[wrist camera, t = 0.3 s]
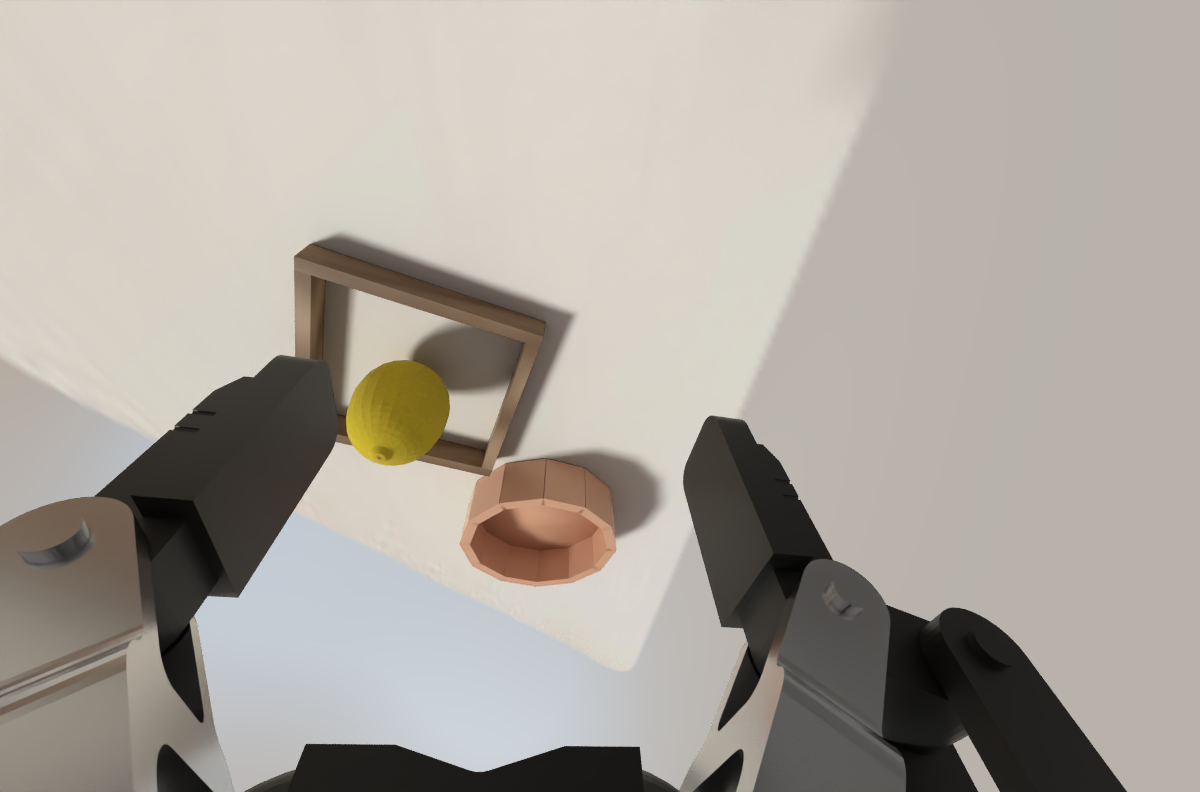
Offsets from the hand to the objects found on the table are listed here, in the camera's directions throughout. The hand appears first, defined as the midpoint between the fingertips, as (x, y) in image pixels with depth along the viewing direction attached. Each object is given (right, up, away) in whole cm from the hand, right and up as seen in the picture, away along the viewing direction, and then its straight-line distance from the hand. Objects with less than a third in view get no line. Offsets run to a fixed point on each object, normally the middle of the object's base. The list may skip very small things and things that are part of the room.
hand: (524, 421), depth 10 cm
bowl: (-4, -10, +31) cm, 32 cm away
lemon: (-11, +2, +21) cm, 23 cm away
